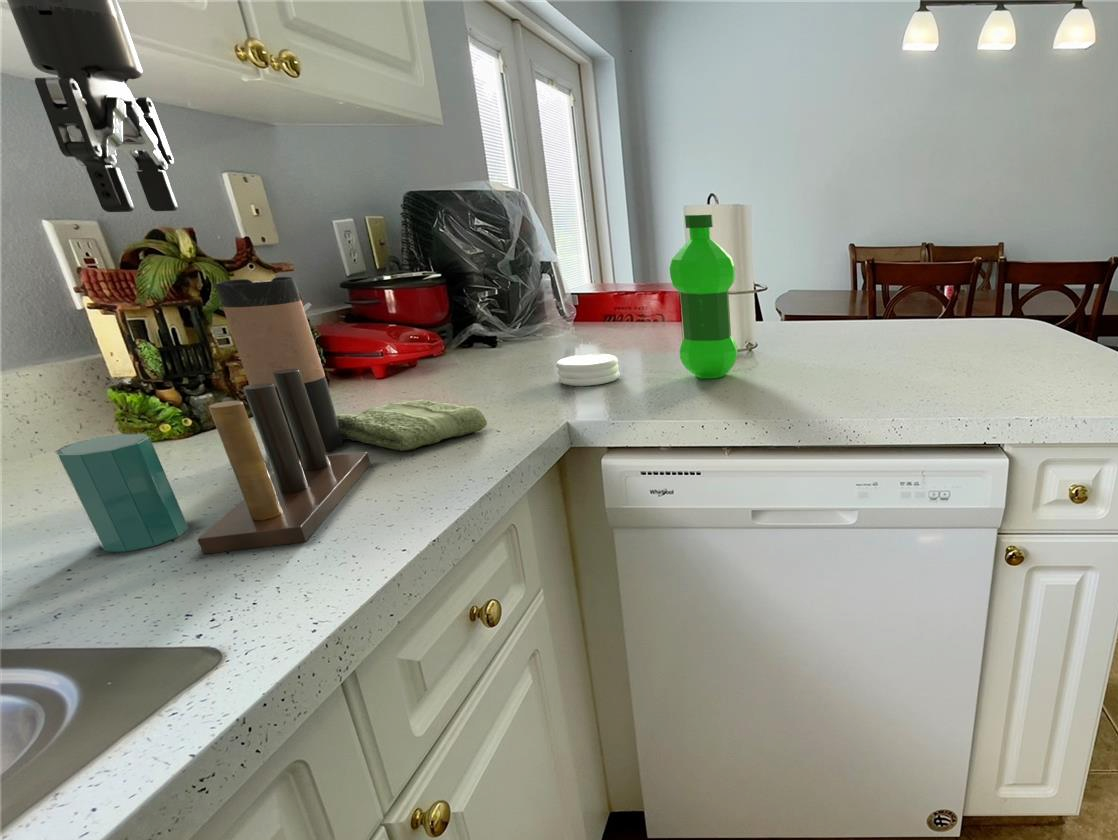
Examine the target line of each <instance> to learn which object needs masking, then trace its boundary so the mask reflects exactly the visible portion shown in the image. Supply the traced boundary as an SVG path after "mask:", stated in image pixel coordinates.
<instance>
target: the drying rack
mask: <svg viewBox="0 0 1118 840" xmlns="http://www.w3.org/2000/svg"><path fill="white" fill-rule="evenodd" d="M272 375H273V378H274V381H275V383H276V386H277V389H278V392H279V395H280V398H281V401H282V404H283V407H284V410H285V413H286V416H287V419H288V422H289V425H290V427H291V430H292V433H293V436H294V439H295V442H296V445H297V448H298V451H299V454H300V457H301V458H299V457H298V454H297V451H296V448H295V445H294V442H293V440H292V437H291V434H290V431H289V428H288V425H287V422H286V419H285V416H284V413H283V410H282V407H281V404H280V402H279V399H278V396H277V393H276V390H275V387H274V384H272V383H261V384H254V385H249V384H248V385H246V386H244V387H242V389H243V392H244V396H245V397H246V400H247V403H248V406H249V409H250V411H251V413H252V414H251V415H252V417H253V420H254V424H255V425H256V426H255V427H256V428H257V431H258V434H259V437H260V440H261V442H262V445H263V447H264V450H265V453H266V457H267V458H268V461H269V464H270V468H271V470H272V474H271V475H270V474H269V473H270V472H269V471H268V467H267V465H266V462H265V460H264V457H263V453H262V451H261V449H260V446H259V443H258V440H257V437H256V435H255V432H254V430H253V427H252V423H251V420H250V418H249V416H248V412H247V410H246V407H245V404H244V402H243V401H241V400H225V401H221V402H216V403H213V404H210V405H208V410H209V412H210V415H211V418H212V420H213V423H214V425H215V428H216V430H217V433H218V436H219V439H220V441H221V443H222V447H223V448H224V452H225V454H226V456H227V459H228V461H229V464H230V466H231V470H232V472H233V474H234V477H235V480H236V482H237V484H238V487H239V490H240V492H241V495H242V497H243V499H242V500H241V501H240V502H238V503H237V504H236V505H235V506H234V507H233V508H232V509H230V510H229V511H227V513H226V514H224V515H223V516H222V517H221V518H220V519H218V520H216V522H215V523H213V524H212V525H211V526H210V527H209V528H208V529H207V530H206V531H204V532H203V533H202V534H201V535H200V536H199V537H197V538H196V540H197V542H198V545H199V547H200V550H201V552H202V555H208V554H217V553H224V552H225V553H226V552H232V551H233V552H234V551H241V550H251V549H257V548H266V547H274V546H281V545H291V544H299V543H306V542H307V541H308V540H309V539H310V538H311V536H312V535H313V534H314V533H315V532H316V530H317V529H318V528H319V527H320V525H321V524H322V523H323V522H324V521H325V519H327V517H328V516H329V515H330V514H331V512H332V511H333V510H334V509H335V508H336V506H337V505H338V504H339V503H340V501H341V500H342V499H343V498H344V497H345V496H346V495H347V493H348V492H349V491H350V490H351V489H352V487H353V486H354V485H355V484H356V482H357V481H358V480H359V479H360V478H361V477H362V476H363V474H364V473H365V472H366V471H367V469H368V468H369V467H370V466H371V464H372V462H371V460H370V456H369V452H368V451H364V452H362V451H361V452H351V453H343V454H333V455H332V454H331V455H328V454H327V453H328V452H327V453H326V450H325V447H324V444H323V441H322V438H321V435H320V432H319V428H318V425H317V422H316V419H315V416H314V413H313V410H312V407H311V404H310V401H309V398H308V394H307V391H306V388H305V385H304V382H303V379H302V376H301V373H300V370H299V369H283V370H278V371H274V372H272Z"/></svg>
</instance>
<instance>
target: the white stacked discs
mask: <svg viewBox="0 0 1118 840" xmlns="http://www.w3.org/2000/svg"><path fill="white" fill-rule="evenodd" d="M618 363H619V359H618V357H616V355H612V354H608V353H607V354H606V353H587V354H586V353H585V354H577V355H576V354H575V355H570V356H567V357H563V358H561V359H559V360H557V362H556V365H555V367H556V368H557V374H558V375H559V376H558V381H559V382H560V383H561V384H563V385H566V386H571V387H572V386H573V387H589V386H599V385H603V384H608V383H612V382H614V381H617V380H618V379H619V378H620V376H621V374H620V371H619V370H620V366H619V364H618Z"/></svg>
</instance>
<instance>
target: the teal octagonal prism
mask: <svg viewBox="0 0 1118 840" xmlns="http://www.w3.org/2000/svg"><path fill="white" fill-rule="evenodd" d="M54 453H55V455H56V457H57V459H58V462H59V463H60V466H61V468H62V470H63V471H64V474H65V476H66V478H67V480H68V482H69V484H70V486H71V488H72V490H73V492H74V494H75V496H76V498H77V500H78V502H79V504H80V506H81V508H82V511H83V513H84V514H85V517H86V518H87V520H88V522H89V525H90V527H91V528H92V530H93V532H94V535H95V537H96V538H97V541H98V542H99V545H100V547H101V548H102V549H103V550H104V551H105V552H107V553H109V552H111V553H113V552H115V553H116V552H121V553H122V552H124V553H125V552H131V551H136V550H142V549H147V548H151V547H156V546H159V545H161V544H164V543H166V542H169V541H173V540H174V539H177V538H179V537H180V536H182V535H183V534H185V532H187V531H188V530H189V525H188V523H187V521H186V519H185V517H184V514H183V511H182V509H181V507H180V505H179V502H178V500H177V497H176V495H175V493H174V491H173V488H172V486H171V484H170V481H169V479H168V477H167V474H166V472H165V470H164V467H163V465H162V462H161V461H160V458H159V456H158V454H157V451H156V448H155V447H154V444H153V442H152V440H151V438H150V436H149V435H147V434H145V433H120V434H119V433H118V434H113V435H112V434H111V435H105V436H100V437H99V436H97V437H93V438H89V439H85V440H80V441H77V442H72V443H69V444H67V445H65V446H62V447H60V448H58V449H56V450H54Z"/></svg>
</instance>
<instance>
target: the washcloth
mask: <svg viewBox="0 0 1118 840" xmlns="http://www.w3.org/2000/svg"><path fill="white" fill-rule="evenodd" d="M336 417H337V421H338V425H339V428H340V432H341V436H342V439H348V440H350V441H353V442H355V441H357V442H361V443H364V444H369V445H374V446H376V447H382V448H387V449H391V450H395V451H401V452H403V451H405V452H406V451H410V450H416V449H418V448H420V447H423V446H426V445H427V446H429V445H432V444H437V443H439V442H440V441H442V440H447V439H450V438H457V437H462V436H465V435H468V434H472V433H475V432H480V431H482V430H483V429H484V428H486V427H487V424H488V421H487V419H486V417H485V415H484V413H483V412H482V411H481V409H480V408H478V407H476V406H474V405H473V406H471V405H466V406H465V405H464V406H461V405H457V404H455V403H445V402H439V401H432V400H427V399H416V400H410V401H405V402H402V401H401V402H396V403H393V402H392V403H389V404H386V405H380V406H376V407H369V408H366V409H365V410H362V411H361V412H358V413H354V414H350V413H344V414H342V413H341V414H338V415H336Z"/></svg>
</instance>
